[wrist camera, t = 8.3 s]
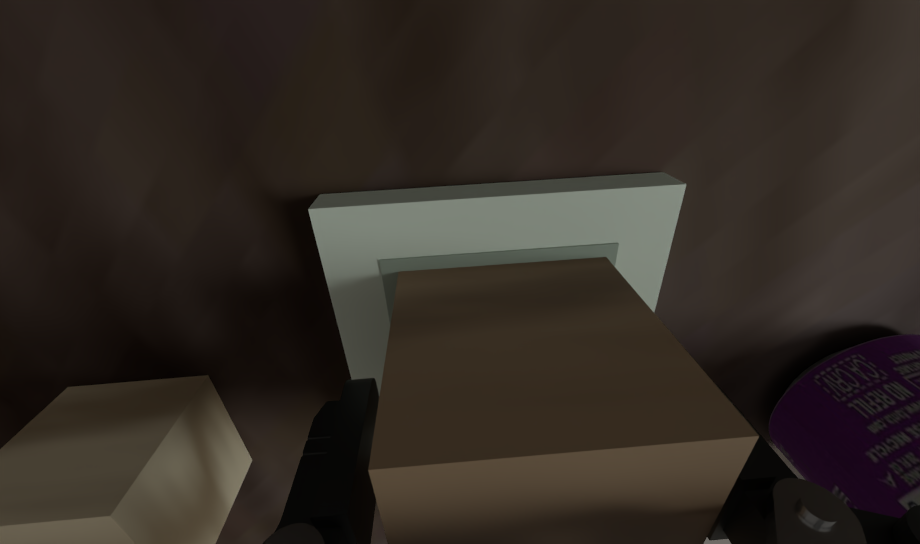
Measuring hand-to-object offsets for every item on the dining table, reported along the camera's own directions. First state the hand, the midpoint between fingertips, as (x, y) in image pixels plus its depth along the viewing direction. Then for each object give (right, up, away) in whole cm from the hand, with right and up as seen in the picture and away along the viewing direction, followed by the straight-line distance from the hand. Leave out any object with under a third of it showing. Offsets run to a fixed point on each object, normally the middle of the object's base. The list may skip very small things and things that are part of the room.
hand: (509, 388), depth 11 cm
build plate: (0, +2, +3) cm, 3 cm away
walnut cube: (0, +1, +2) cm, 2 cm away
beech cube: (-13, -3, +4) cm, 14 cm away
